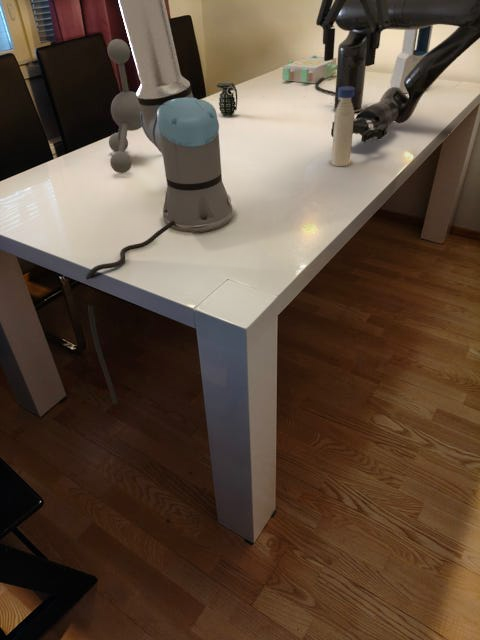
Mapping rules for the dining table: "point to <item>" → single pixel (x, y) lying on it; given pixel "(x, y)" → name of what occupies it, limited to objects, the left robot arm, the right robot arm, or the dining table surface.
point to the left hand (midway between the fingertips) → (348, 62)
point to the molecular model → (122, 109)
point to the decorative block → (309, 69)
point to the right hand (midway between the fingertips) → (347, 135)
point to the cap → (346, 92)
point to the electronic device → (410, 55)
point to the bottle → (343, 132)
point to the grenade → (227, 99)
